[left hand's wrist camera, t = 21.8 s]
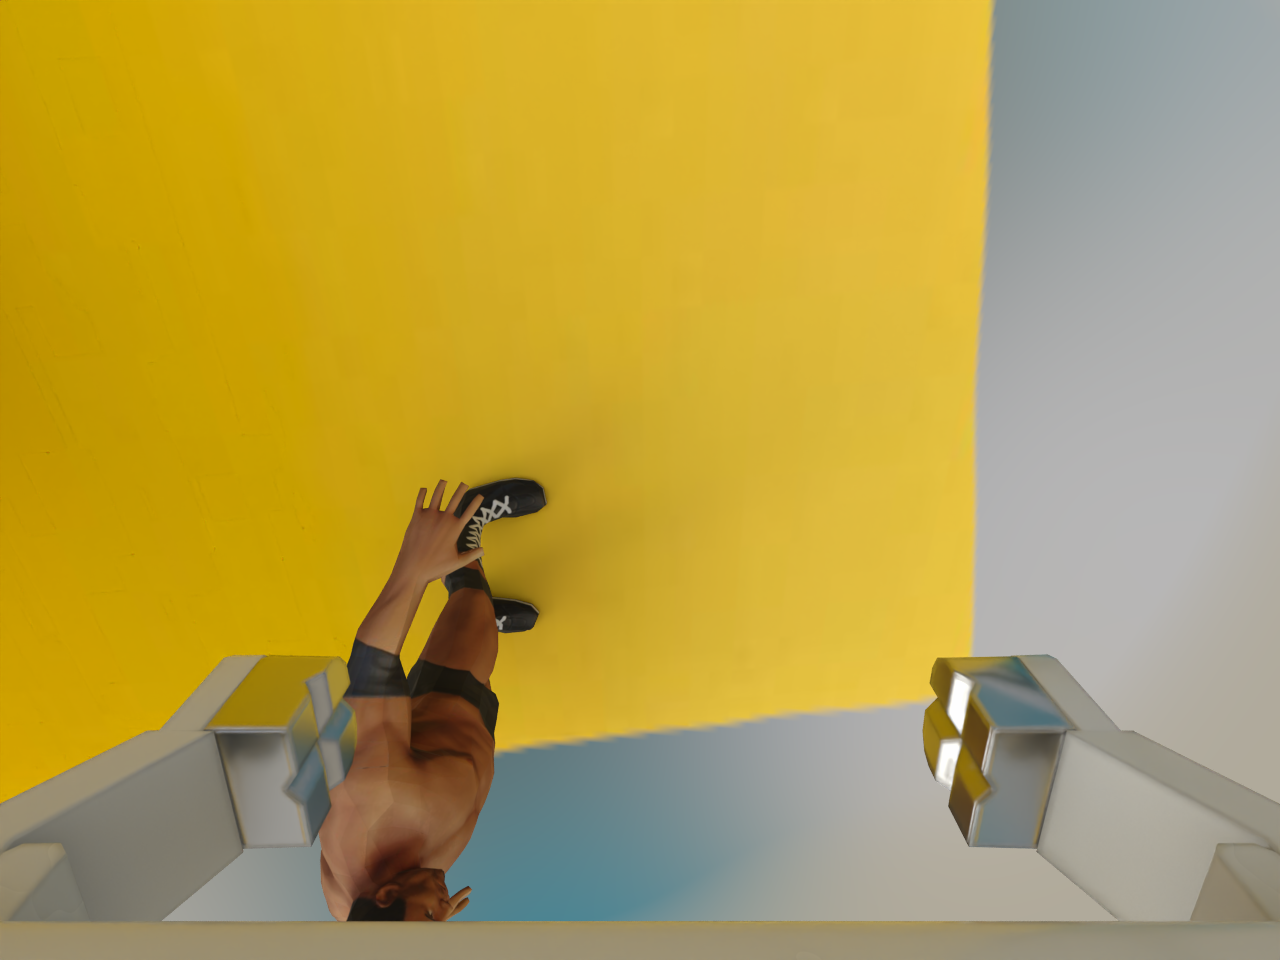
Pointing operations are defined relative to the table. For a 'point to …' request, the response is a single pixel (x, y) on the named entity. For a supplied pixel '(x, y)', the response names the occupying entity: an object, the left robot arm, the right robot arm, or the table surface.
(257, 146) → the table surface
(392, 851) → the figurine
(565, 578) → the table surface
